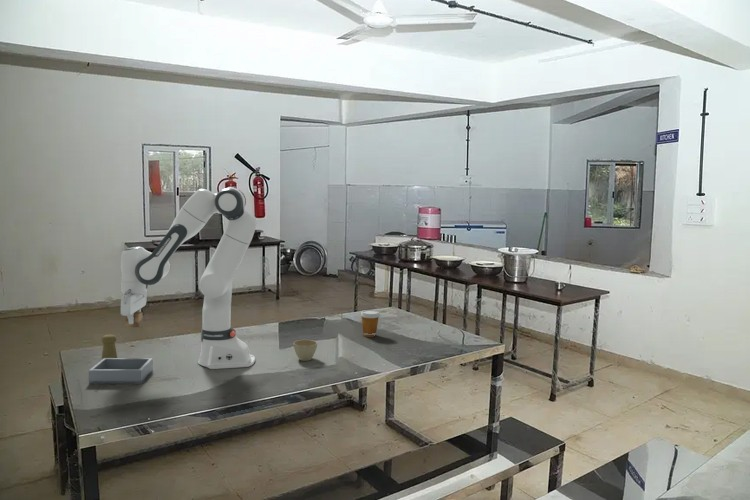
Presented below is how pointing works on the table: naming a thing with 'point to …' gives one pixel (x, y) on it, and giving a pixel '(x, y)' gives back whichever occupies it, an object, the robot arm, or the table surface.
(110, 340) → the cork
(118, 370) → the tote
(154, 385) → the table surface
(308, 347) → the flower pot
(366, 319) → the disposable coffee cup
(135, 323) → the tan cube
